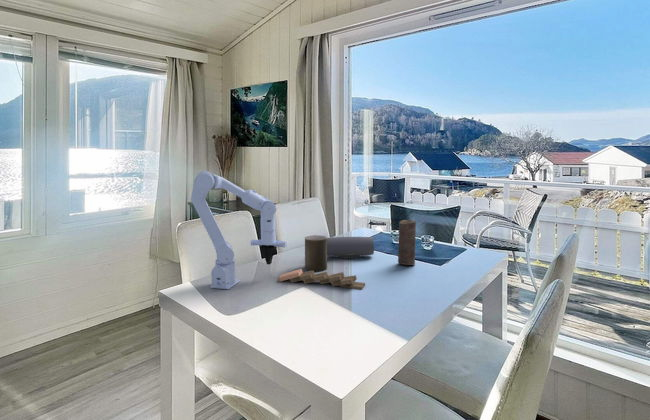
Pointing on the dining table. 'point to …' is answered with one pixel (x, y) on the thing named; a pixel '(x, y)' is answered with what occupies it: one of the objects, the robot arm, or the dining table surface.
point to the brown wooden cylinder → (407, 242)
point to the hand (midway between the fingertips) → (269, 263)
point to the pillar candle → (316, 253)
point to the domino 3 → (316, 277)
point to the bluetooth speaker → (350, 246)
